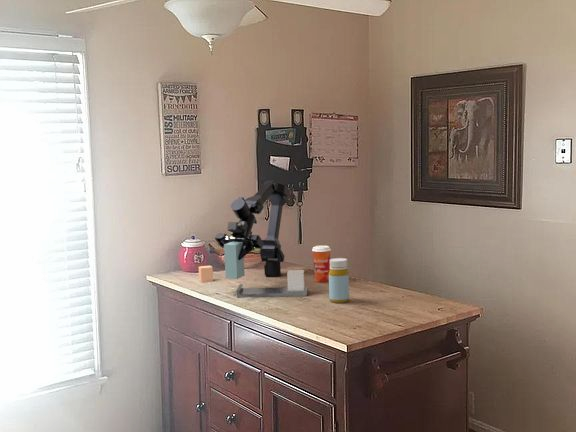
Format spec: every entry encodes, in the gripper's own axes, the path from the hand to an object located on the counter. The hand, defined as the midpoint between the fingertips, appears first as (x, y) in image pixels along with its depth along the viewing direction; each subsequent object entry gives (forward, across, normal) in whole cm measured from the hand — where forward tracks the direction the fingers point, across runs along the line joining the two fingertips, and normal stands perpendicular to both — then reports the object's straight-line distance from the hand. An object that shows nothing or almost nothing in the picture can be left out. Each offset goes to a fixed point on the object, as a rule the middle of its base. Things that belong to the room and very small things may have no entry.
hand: (232, 259), depth 261 cm
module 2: (+4, 0, +6) cm, 7 cm away
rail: (+6, +14, +13) cm, 20 cm away
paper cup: (-12, +24, +31) cm, 41 cm away
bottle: (+9, +42, +10) cm, 44 cm away
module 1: (-2, -23, +22) cm, 31 cm away
